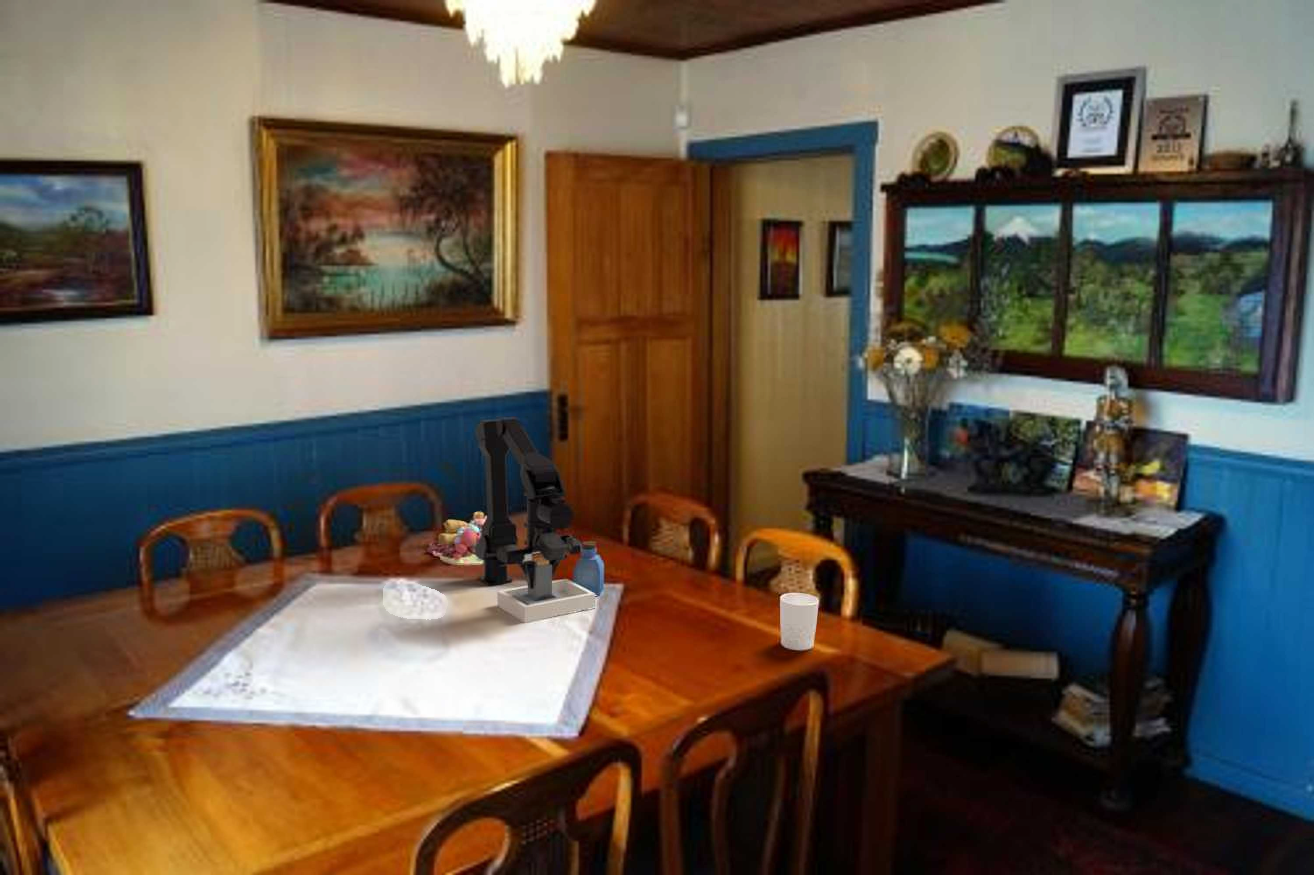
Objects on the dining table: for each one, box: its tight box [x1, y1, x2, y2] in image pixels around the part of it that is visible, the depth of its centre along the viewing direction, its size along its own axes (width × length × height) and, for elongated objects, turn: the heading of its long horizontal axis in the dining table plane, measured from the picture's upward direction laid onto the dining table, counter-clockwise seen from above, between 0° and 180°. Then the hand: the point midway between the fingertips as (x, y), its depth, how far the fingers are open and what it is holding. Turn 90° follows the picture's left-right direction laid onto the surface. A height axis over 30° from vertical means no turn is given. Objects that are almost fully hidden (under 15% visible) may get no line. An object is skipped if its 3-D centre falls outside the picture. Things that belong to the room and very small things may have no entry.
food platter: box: [426, 511, 488, 567], centre depth 281 cm, size 25×24×9 cm
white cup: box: [779, 592, 820, 651], centre depth 218 cm, size 8×8×10 cm
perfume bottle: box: [573, 540, 605, 597], centre depth 249 cm, size 6×6×12 cm
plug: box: [527, 556, 553, 597], centre depth 236 cm, size 4×4×8 cm
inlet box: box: [496, 578, 596, 624], centre depth 238 cm, size 13×18×4 cm
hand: (539, 586), depth 236 cm, fingers closed on plug, 4 cm apart
